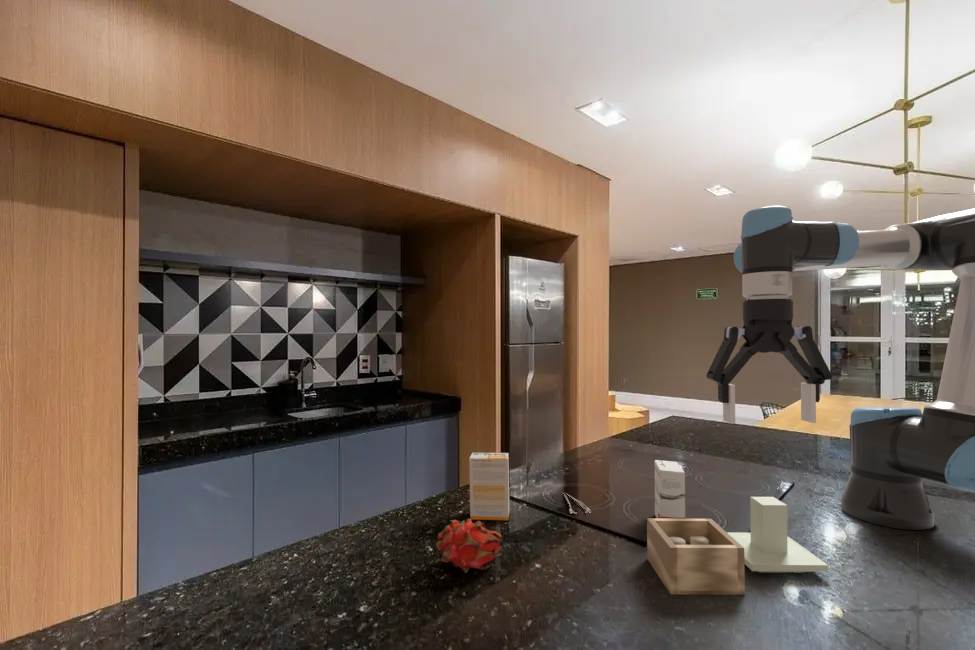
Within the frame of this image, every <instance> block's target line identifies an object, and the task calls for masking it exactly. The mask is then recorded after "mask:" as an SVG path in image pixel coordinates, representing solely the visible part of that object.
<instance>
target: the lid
mask: <svg viewBox="0 0 975 650" xmlns="http://www.w3.org/2000/svg"><path fill="white" fill-rule="evenodd" d="M749 499H750V502H749V503H750V504H749V505H750V506H749V507H750V509H749V510H750V511H749V516H750V519H749V520H750V523H749V524H750V528H749V529H750V532H737V531H736V532H732V531H731V532H729V531H728V532H727V531H726V532H727V533H728V534H729V535H730V536H731V537H732V538H734V539H735V540H736V541H737V542H738V543H739V544H740V545H741V546H743V547H744V566H746V567H747V568H749V570H750V571H751V572H758V573H790V572H791V573H792V572H793V573H795V574H796V573H798V574H799V573H804V574H805V573H806V572H822V573H823V572H824V573H826V572H829V564H828V563H826V562H824V561H823V560H822V559H821V558H819V557H818V556H816V555H815V554H814V553H812V552H810V551H809V550H808V549H806V548H805V547H804V546H802V545H801V544H800V543H798V542H797V541H795V540H794V539H792V538H791V537H790V536H788V504H786V503H785V502H783V501H781V500H779V499H778V498H776V497H775V496H750V498H749Z"/></svg>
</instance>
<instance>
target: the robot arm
mask: <svg viewBox="0 0 975 650" xmlns="http://www.w3.org/2000/svg"><path fill="white" fill-rule="evenodd" d="M793 219H794V217H793V212H792V209H791V208H790V207H788V206H784V205H783V206H782V205H769V206H763V207H759V208H757V207H756V208H754V209H751V210H749V211H747V212H745V214H744V215H743V216H742V221H741V235H740V239H741V243H739V244H738V245H737V246H736V248H735V250H734V252H733V264H734V266H735V268H736V269H737V270H738V271H739V272H740V273H742V280H741V281H742V282H741V283H742V284H741V285H742V286H741V287H742V289H741V290H742V291H741V292H742V293H741V295H742V297H743V298H745V300H744V301H743V302H742V320H743V326H742V328H740V327H739V328H738V326H726V327H725V328H724V331H723V332H724V333H723V339H722V342H721V343H720V346H719V348H718V350H717V352H716V354H715V356H714V358H713V360H712V362H711V365H710V366H709V369H708V371H707V373H706V375H705V377H706V378H707V380H710V381H712V382H713V381H714V382H715V383H717V400H718V402H719V403H722V417H723V418H722V420H723V421H725V422H727V423H729V424H736V385H735V384H732V383H731V382H732V381H733V380H734V378H735V377H736V376H737V375H738V373H739V372H740V371H741V370H742V369H743V368H744V366H745V365H746V364H748V362H749V361H750V359H751V358H752V357H753V356H755V355H756V354H757V353H760V354H761V353H762V354H765V353H779V354H782V355H783V356H784V358H786V360H787V361H788V362H789V364H791V365H792V367H793V368H794V369H795V371H797V372H798V373H799V375H801V377H802V378H803V379H804V380H805V381H806V382H800V417H801V418H800V420H802V421H804V422H808V423H813V424H815V423H817V405H816V404H817V403H819V402H820V400H821V395H820V394H821V391H820V390H821V389H820V387H821V385H824V383H825V382H826V381H831V380H832V379H833V375H832V373H831V370H830V369H829V367H828V365H827V363H826V361H825V359H824V357H823V355H822V353H821V351H820V349H819V347H818V345H817V344H816V342H815V340H814V335H813V329H812V327H811V326H810V325H798V326H796V327H793V323H792V322H793V319H794V300H792V299H790V298H789V297H790V296H792V295H793V272H800V271H816V270H819V271H821V270H831V269H833V270H836V269H849V268H851V269H852V268H866V267H885V268H886V269H889V270H924V271H925V270H927V271H928V270H930V271H931V270H932V271H951V272H952V273H953V274H954V275H955V276H956V277H957V278H958V279H959V280H960V282H959V287H958V289H959V290H958V293H957V298H956V302H955V308H954V313H953V317H952V323H951V327H950V332H949V336H948V337H949V338H948V342H947V347H946V352H945V355H944V356H945V357H944V361H943V367H942V372H941V376H940V377H941V378H940V382H939V387H938V392H937V396H936V400H934V401H932V402H931V403H928V404H927V405H925V406H923V411H922V410H921V409H920V408H918V407H911V406H909V407H907V406H905V407H904V406H866V407H865V406H862V407H856V408H854V409H853V410H852V411H851V412H850V423H849V446H850V447H849V448H850V451H849V452H850V475H849V477H848V481H847V483H846V486H845V488H844V491H843V493H842V495H841V497H840V502H841V504H840V508H841V509H842V511H843V512H844V513H845V514H848V515H849V516H851V517H853V518H855V519H858V520H861V521H863V522H867V523H870V524H874V525H878V526H883V527H886V528H887V527H888V528H894V529H901V530H911V531H912V530H913V531H921V530H923V531H924V530H930V529H932V528H934V526H935V513H934V511H933V509H932V508H931V507H932V506H931V505H930V500H929V498H928V495H927V494H926V491H925V488H924V487H923V479H925V480H929V481H932V482H935V483H939V484H941V485H945V486H949V487H951V488H952V489H955V490H958V491H962V492H963V491H965V492H970V493H975V207H973V208H969V209H968V208H967V209H964V210H958V211H954V212H948V213H945V214H941V215H937V216H932V217H931V218H930V217H928V218H925V219H922V220H918V221H913V222H908V223H899V224H898V223H897V224H893V225H889V226H888V227H886V228H885V229H877V230H876V229H875V230H857V229H856V228H855V227H854V226H853V225H851V224H850V223H845V222H844V223H843V222H836V221H833V220H830V221H797V220H793ZM741 337H743V339H744V341H745V342H744V343H743V344H742V345H741V346H740V348H739V351H738V352H737V353H736V354H735V355H734V356H733V358H732V359H731V360H730V358H731V356H732V353H733V351H734V349H736V348H735V347H736V346H737V342H738V341H739V340H740V339H741ZM793 338H795V339H796V341H797V342H798V345H799V347H800V349H801V350H802V352H803V355H804V356H805V358H804V357H803V355H802V354H801V353H799V351H798V348H797V347H796V346H795V344H794V343H792V341H791V340H792V339H793ZM729 360H730V361H729ZM728 362H729V363H728Z"/></svg>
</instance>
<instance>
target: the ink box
mask: <svg viewBox="0 0 975 650" xmlns="http://www.w3.org/2000/svg"><path fill="white" fill-rule="evenodd" d="M654 515H655V518H668V519H686V472H685V471H684V469H683V468H682V467H681V465H680V463H679V462H678V461H672V460H671V461H670V460H660V459H655V460H654Z"/></svg>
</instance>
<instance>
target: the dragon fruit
mask: <svg viewBox="0 0 975 650" xmlns="http://www.w3.org/2000/svg"><path fill="white" fill-rule="evenodd" d="M472 521H473V520H471V518H467V519H465V520H464V519H463V520H462V521H460V520H457V519H452V520H450V523H449V524H448V525H445V526H444V527H443V528H444V529H442V530H441V532H438V534H437V541H436V542H435V543H434V544H435V546H436V548H437V549H438V550H439V551H443V554H442V553H441V552H440V553H439V555H438V560H440V561H441V562H445V563H449V562H450V561H451V562H452V565H453V567H454V566H455V567H456V568H458V567H459V568H460V570H462V571H463V574H467V573H468V572H469V570H470V568H471V569H479V570H481V571H484V570H487V569H488V568H490V567H492V566H493V563H491V562H490V561H492V560H494V559H495V557H496V556H498V555H499V552H500V551H501V550H502V549H503V547H504V545H505V544H506V540H505V539H504V537H503V535H502V534H501V533H500V532H499V531H495V530H490V529H487V528H486V526H485V523H484V522H481V520H476V522H474V523H473V522H472ZM502 540H503V541H502ZM488 562H490V563H488ZM455 567H454V568H455ZM456 568H455V569H456Z"/></svg>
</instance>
